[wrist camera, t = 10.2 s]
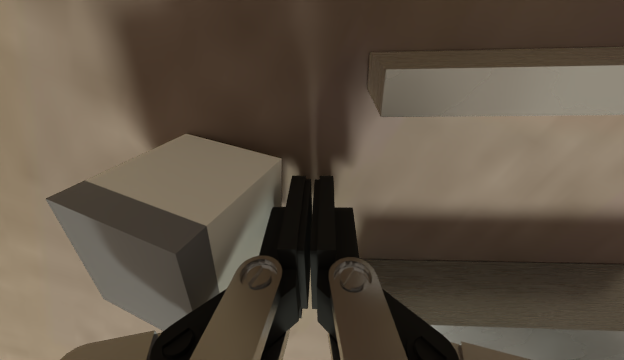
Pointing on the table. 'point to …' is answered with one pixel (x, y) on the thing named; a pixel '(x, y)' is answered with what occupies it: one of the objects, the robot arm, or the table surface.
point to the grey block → (171, 224)
